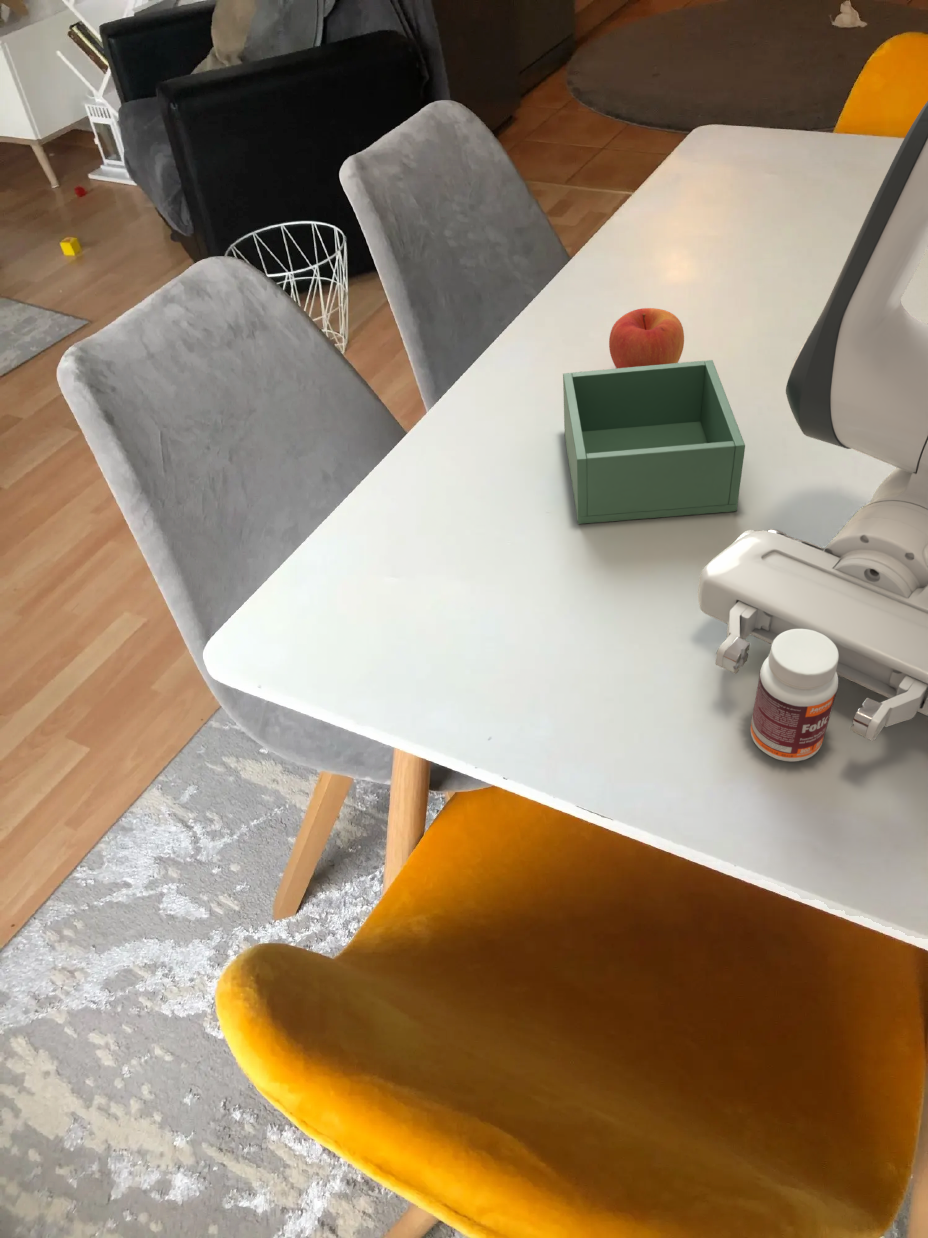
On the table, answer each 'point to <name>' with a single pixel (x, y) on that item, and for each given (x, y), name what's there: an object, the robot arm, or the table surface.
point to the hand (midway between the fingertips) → (791, 695)
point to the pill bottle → (795, 695)
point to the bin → (651, 442)
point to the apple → (646, 338)
